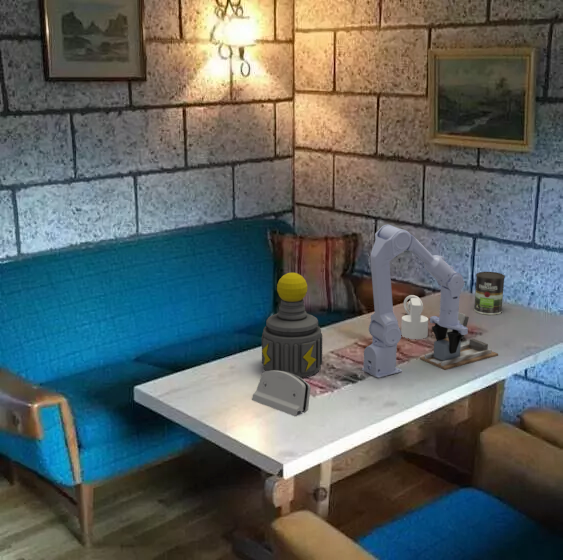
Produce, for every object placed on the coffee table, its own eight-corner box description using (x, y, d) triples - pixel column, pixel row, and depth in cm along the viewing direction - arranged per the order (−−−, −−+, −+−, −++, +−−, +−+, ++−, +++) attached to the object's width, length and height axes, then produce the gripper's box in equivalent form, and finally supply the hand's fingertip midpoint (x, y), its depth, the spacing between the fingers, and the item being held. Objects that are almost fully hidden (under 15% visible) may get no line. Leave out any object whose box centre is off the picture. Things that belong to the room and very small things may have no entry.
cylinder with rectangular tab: (400, 330, 274) (401, 297, 270) (426, 331, 273) (428, 298, 270) (401, 339, 265) (403, 305, 262) (428, 339, 264) (430, 305, 261)
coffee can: (499, 316, 289) (502, 279, 285) (471, 313, 293) (473, 276, 289) (503, 308, 298) (506, 273, 294) (476, 305, 302) (478, 270, 298)
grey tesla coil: (283, 384, 227) (283, 284, 219) (249, 364, 242) (248, 270, 234) (335, 371, 237) (336, 275, 229) (299, 353, 252) (300, 262, 244)
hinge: (250, 399, 217) (258, 364, 217) (261, 400, 220) (269, 365, 220) (296, 416, 206) (304, 379, 206) (307, 417, 209) (315, 380, 209)
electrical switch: (436, 334, 269) (440, 308, 268) (447, 333, 272) (450, 307, 271) (457, 342, 262) (460, 315, 260) (467, 340, 265) (471, 314, 263)
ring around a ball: (400, 315, 291) (401, 294, 289) (408, 311, 295) (409, 291, 293) (420, 319, 286) (421, 298, 284) (427, 315, 290) (428, 294, 288)
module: (444, 360, 241) (444, 344, 240) (433, 356, 245) (434, 340, 243) (460, 356, 245) (460, 340, 244) (449, 352, 248) (450, 336, 247)
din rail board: (444, 369, 238) (445, 358, 237) (420, 359, 246) (420, 348, 246) (498, 355, 249) (498, 344, 248) (472, 345, 258) (473, 335, 257)
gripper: (476, 312, 237) (473, 354, 240) (442, 301, 249) (440, 341, 252) (459, 316, 233) (456, 359, 237) (425, 304, 245) (423, 345, 249)
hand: (447, 350), depth 244 cm, fingers closed on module, 4 cm apart
